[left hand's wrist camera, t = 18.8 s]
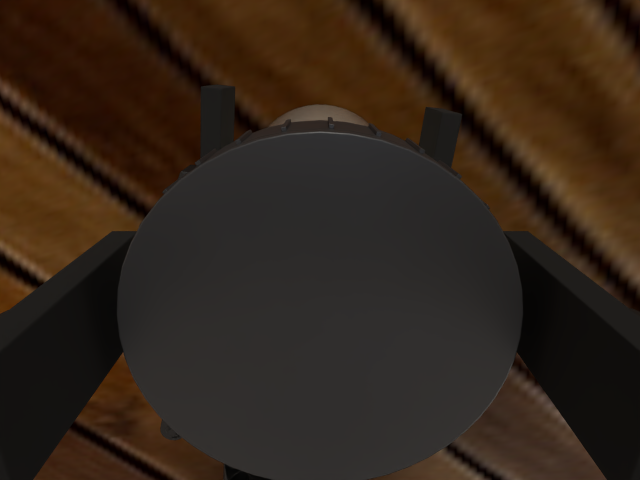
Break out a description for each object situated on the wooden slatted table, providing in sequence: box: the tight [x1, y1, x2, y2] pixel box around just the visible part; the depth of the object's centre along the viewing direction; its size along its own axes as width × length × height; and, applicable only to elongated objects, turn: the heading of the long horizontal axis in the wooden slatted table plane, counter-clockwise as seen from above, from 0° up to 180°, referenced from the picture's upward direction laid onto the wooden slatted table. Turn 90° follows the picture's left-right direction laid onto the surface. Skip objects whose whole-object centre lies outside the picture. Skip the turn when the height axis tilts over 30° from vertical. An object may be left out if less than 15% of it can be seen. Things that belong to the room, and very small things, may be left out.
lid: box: [117, 117, 523, 480], centre depth 11 cm, size 9×9×2 cm
